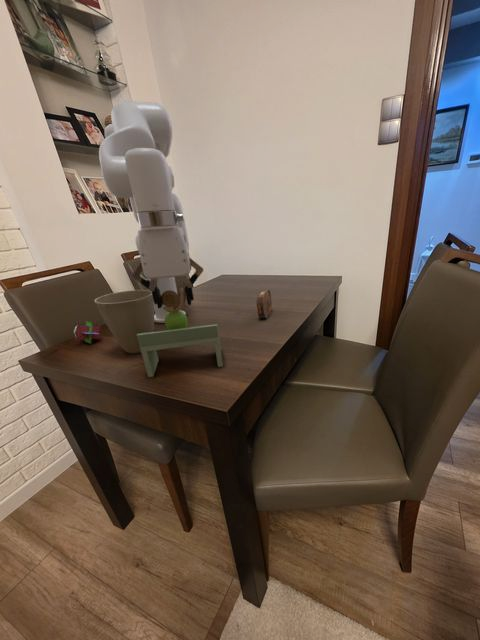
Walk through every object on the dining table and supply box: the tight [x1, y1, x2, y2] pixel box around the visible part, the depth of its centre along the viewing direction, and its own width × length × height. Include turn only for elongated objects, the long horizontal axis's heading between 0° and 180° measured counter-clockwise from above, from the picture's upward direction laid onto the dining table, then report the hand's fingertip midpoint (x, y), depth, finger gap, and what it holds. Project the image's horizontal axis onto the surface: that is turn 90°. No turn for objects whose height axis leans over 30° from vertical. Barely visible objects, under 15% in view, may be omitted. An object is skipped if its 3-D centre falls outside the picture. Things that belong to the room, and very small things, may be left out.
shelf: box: [137, 323, 224, 378], centre depth 70 cm, size 9×18×11 cm, turn 101°
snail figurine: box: [161, 281, 189, 330], centre depth 67 cm, size 5×6×12 cm
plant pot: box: [94, 289, 155, 354], centre depth 81 cm, size 15×15×16 cm
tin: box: [256, 289, 273, 319], centre depth 103 cm, size 15×3×8 cm, turn 168°
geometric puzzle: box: [73, 320, 101, 345], centre depth 90 cm, size 7×7×8 cm
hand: (175, 304), depth 66 cm, fingers closed on snail figurine, 6 cm apart
